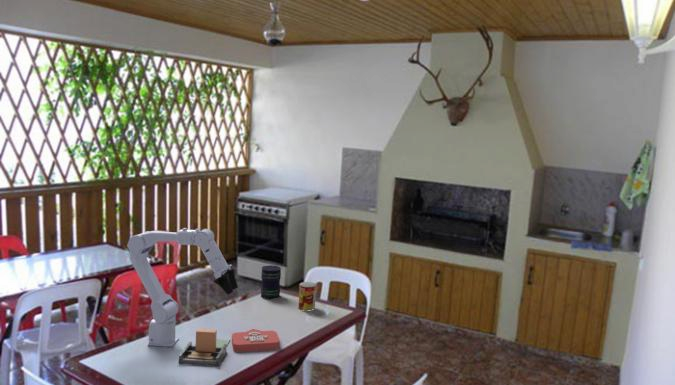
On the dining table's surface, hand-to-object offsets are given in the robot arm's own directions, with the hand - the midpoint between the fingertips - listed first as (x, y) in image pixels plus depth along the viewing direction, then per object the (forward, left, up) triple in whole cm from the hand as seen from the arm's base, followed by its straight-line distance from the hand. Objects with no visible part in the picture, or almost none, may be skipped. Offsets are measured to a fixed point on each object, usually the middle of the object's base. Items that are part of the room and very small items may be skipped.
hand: (233, 290), depth 188 cm
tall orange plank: (-9, -4, -23) cm, 25 cm away
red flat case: (+7, +9, -24) cm, 27 cm away
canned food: (+24, +52, -24) cm, 62 cm away
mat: (-9, +5, -23) cm, 25 cm away
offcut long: (-9, -11, -24) cm, 27 cm away
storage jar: (+4, +67, -24) cm, 71 cm away
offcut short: (-9, -8, -24) cm, 27 cm away
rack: (-9, -7, -23) cm, 26 cm away
